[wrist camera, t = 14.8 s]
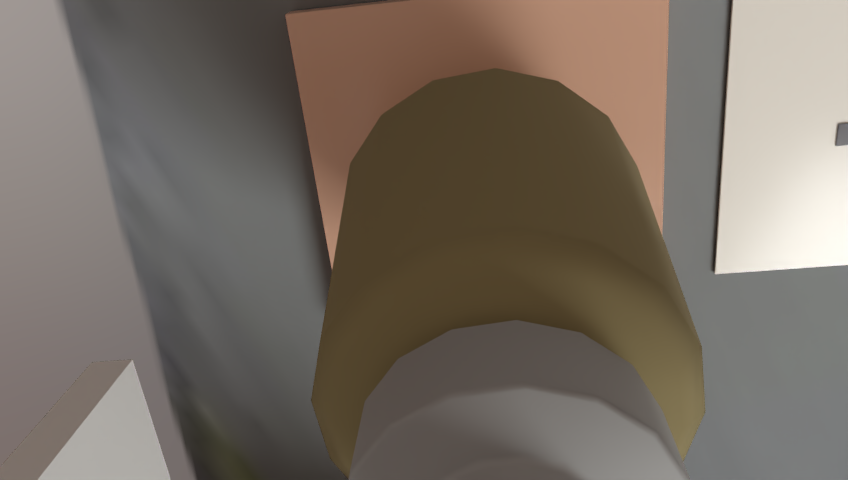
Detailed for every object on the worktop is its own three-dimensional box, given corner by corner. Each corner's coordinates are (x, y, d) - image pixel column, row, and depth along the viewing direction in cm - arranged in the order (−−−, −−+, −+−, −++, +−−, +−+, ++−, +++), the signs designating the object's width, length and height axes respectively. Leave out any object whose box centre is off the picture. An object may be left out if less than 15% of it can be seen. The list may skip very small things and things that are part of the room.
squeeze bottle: (316, 106, 22) (-149, 672, 5) (569, 0, 20) (1036, 345, 4) (419, 318, 25) (324, 1110, 8) (647, 241, 23) (1103, 1041, 6)
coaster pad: (654, 302, 25) (660, 313, 24) (347, 322, 26) (343, 334, 25) (662, -31, 20) (670, -29, 20) (291, 11, 21) (285, 14, 21)
